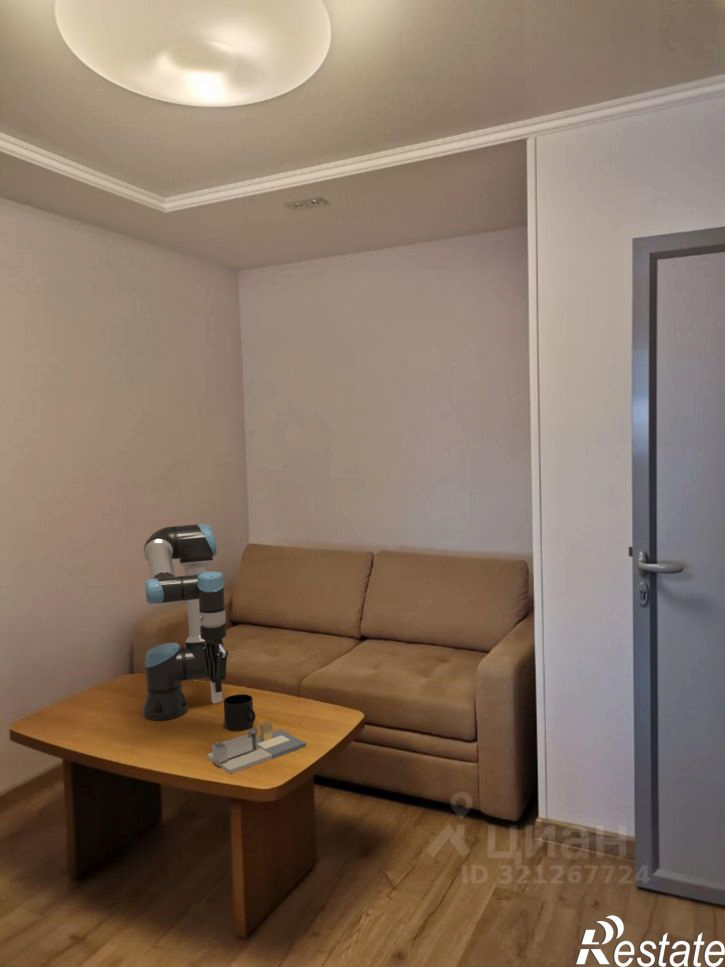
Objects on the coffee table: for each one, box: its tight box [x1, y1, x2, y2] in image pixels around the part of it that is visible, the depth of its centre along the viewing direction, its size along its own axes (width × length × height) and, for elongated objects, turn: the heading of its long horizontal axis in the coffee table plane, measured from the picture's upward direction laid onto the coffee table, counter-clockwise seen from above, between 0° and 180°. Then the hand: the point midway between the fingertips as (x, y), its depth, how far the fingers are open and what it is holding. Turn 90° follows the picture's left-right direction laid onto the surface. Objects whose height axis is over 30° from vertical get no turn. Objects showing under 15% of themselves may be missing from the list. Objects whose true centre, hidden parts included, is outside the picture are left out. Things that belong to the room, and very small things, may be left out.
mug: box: [223, 693, 256, 732], centre depth 241 cm, size 9×12×9 cm
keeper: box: [259, 721, 273, 742], centre depth 227 cm, size 2×3×5 cm
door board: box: [206, 727, 306, 775], centre depth 221 cm, size 14×26×7 cm, turn 129°
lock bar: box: [211, 733, 253, 763], centre depth 216 cm, size 11×4×4 cm, turn 129°
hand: (217, 701), depth 220 cm, fingers closed
